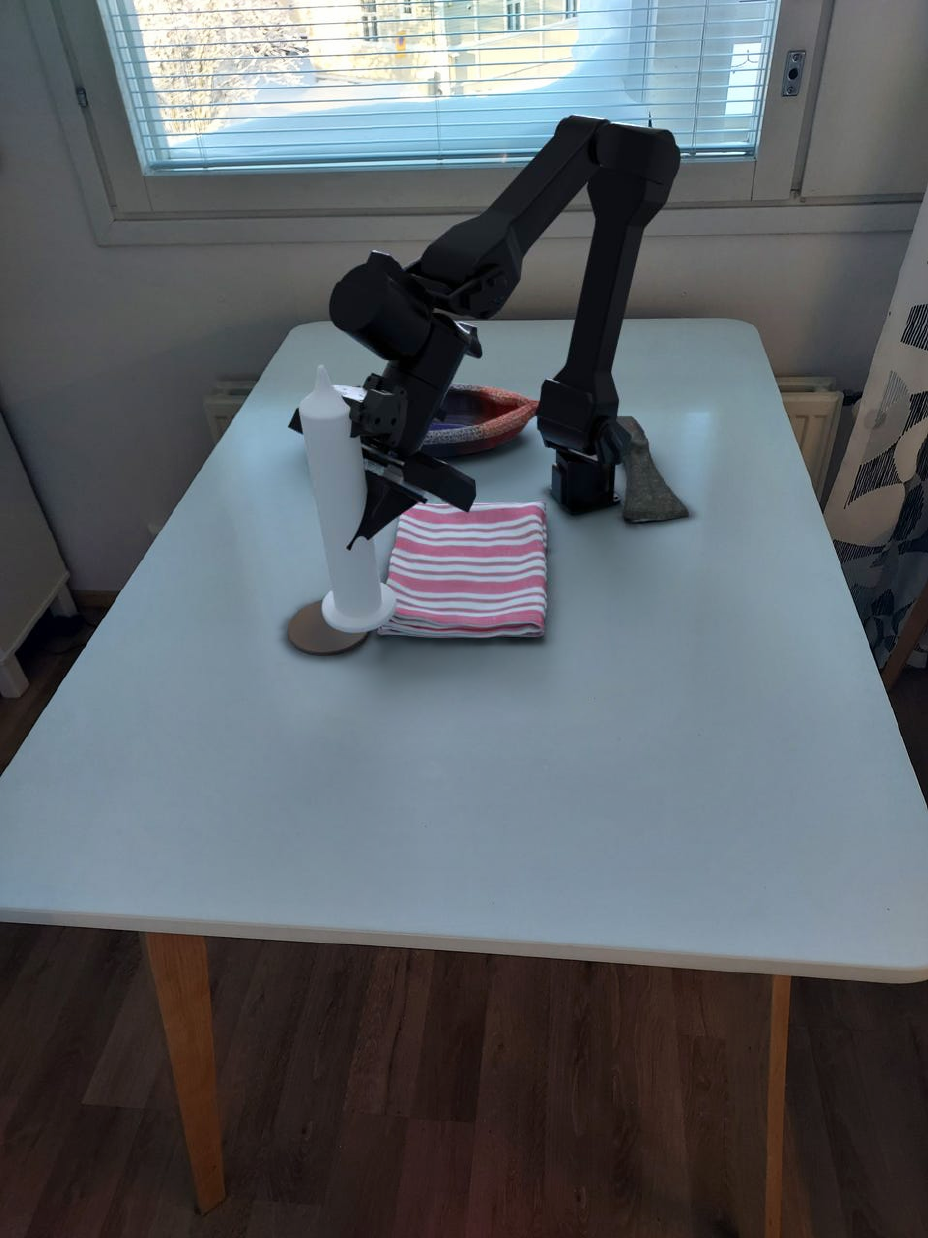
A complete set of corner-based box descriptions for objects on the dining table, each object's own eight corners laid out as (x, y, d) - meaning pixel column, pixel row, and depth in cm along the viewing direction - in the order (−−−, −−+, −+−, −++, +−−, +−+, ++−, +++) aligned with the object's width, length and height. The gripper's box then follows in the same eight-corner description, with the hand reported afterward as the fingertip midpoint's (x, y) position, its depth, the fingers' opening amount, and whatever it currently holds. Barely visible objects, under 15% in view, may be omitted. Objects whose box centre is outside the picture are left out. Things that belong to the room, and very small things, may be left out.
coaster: (358, 593, 98) (357, 590, 98) (382, 640, 92) (381, 637, 92) (280, 614, 96) (279, 611, 96) (299, 664, 90) (298, 661, 89)
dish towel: (373, 643, 91) (369, 616, 89) (403, 512, 109) (400, 487, 107) (546, 645, 90) (547, 618, 88) (548, 512, 108) (548, 486, 105)
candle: (334, 581, 91) (291, 342, 75) (404, 587, 90) (376, 346, 74) (313, 630, 86) (261, 385, 70) (386, 636, 85) (352, 389, 68)
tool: (688, 527, 106) (694, 506, 104) (623, 530, 105) (627, 509, 103) (644, 425, 121) (648, 404, 119) (586, 427, 120) (589, 406, 118)
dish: (326, 409, 131) (321, 376, 127) (545, 410, 127) (545, 376, 124) (299, 466, 119) (293, 431, 116) (540, 469, 115) (540, 433, 112)
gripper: (284, 315, 79) (208, 482, 80) (442, 372, 69) (352, 563, 70) (364, 368, 88) (295, 517, 89) (514, 425, 78) (434, 592, 79)
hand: (339, 544), depth 82 cm, fingers closed on candle, 2 cm apart
